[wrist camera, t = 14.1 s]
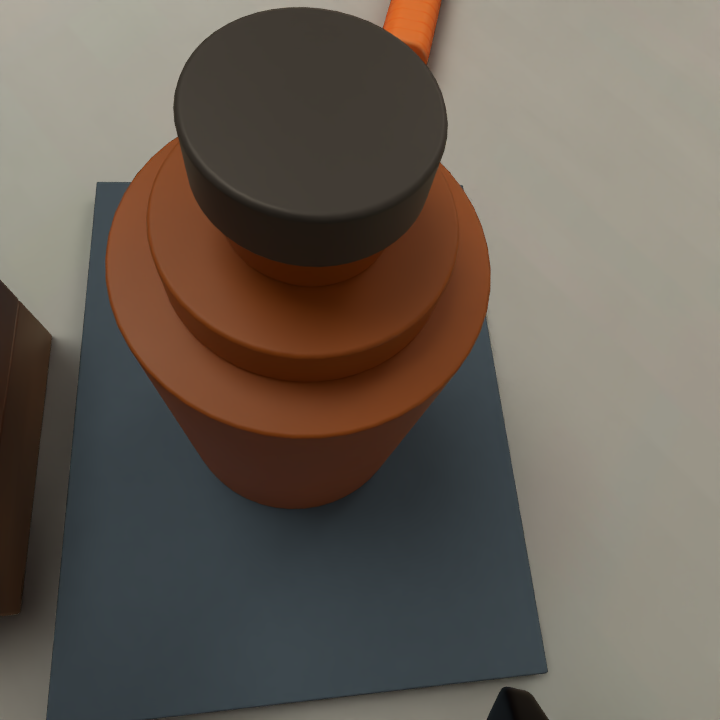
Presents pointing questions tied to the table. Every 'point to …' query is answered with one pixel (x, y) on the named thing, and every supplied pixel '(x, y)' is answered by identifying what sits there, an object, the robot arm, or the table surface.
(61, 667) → the placemat
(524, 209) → the table surface
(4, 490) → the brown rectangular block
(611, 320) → the table surface
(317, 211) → the amber bottle
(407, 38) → the magnifying glass
